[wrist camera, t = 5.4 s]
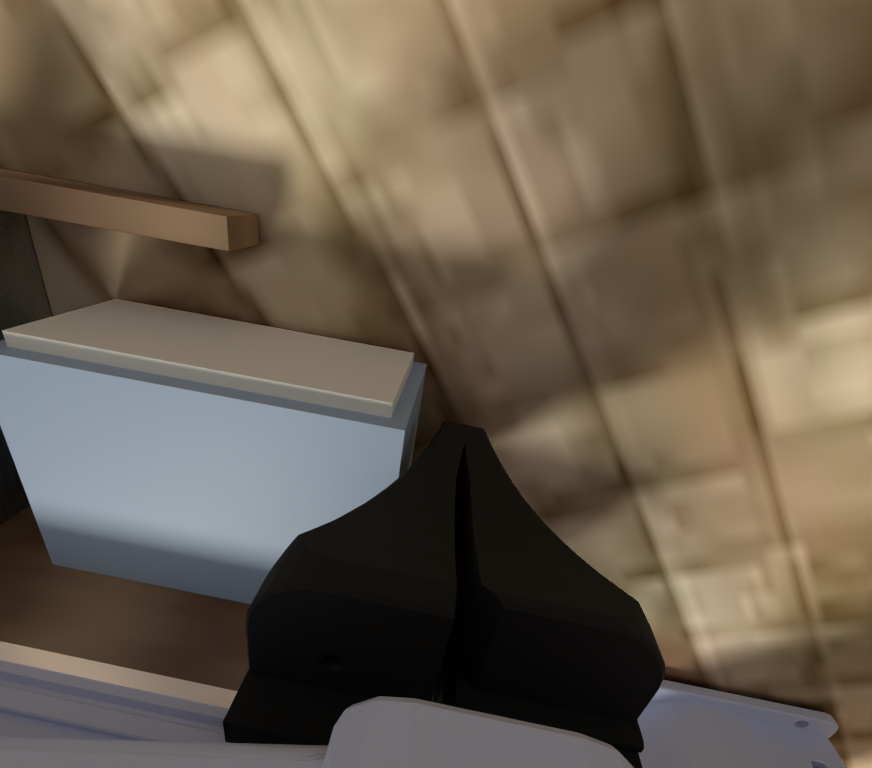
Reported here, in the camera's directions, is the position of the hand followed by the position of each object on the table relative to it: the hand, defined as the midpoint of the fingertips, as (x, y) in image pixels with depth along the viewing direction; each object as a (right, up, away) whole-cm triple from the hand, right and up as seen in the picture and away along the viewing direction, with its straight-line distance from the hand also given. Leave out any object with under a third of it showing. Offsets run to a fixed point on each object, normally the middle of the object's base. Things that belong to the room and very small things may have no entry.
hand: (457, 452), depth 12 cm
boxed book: (-6, +1, +2) cm, 7 cm away
